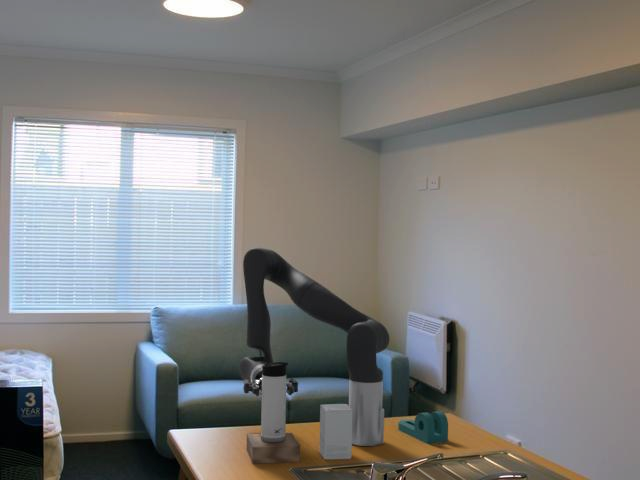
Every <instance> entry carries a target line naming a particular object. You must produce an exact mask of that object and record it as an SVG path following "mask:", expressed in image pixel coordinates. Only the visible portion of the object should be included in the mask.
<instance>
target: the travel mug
mask: <svg viewBox="0 0 640 480" xmlns="http://www.w3.org/2000/svg"><path fill="white" fill-rule="evenodd" d="M287 366H289V363H288V361H278V362H277V361H276V362H275V361H274V363H268V364H265V365H263V366H262V371H263V372H262V395H261V412H260V413H261V415H260V419H261V420H260V421H261V422H260V434H261V440H262V441H264V442H270V443H276V442H282V441H284V440H285V433H286V422H287V421H286V417H287V413H286V412H287V409H286V408H287V392H286V389H287V386H286V382H287Z"/></svg>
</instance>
